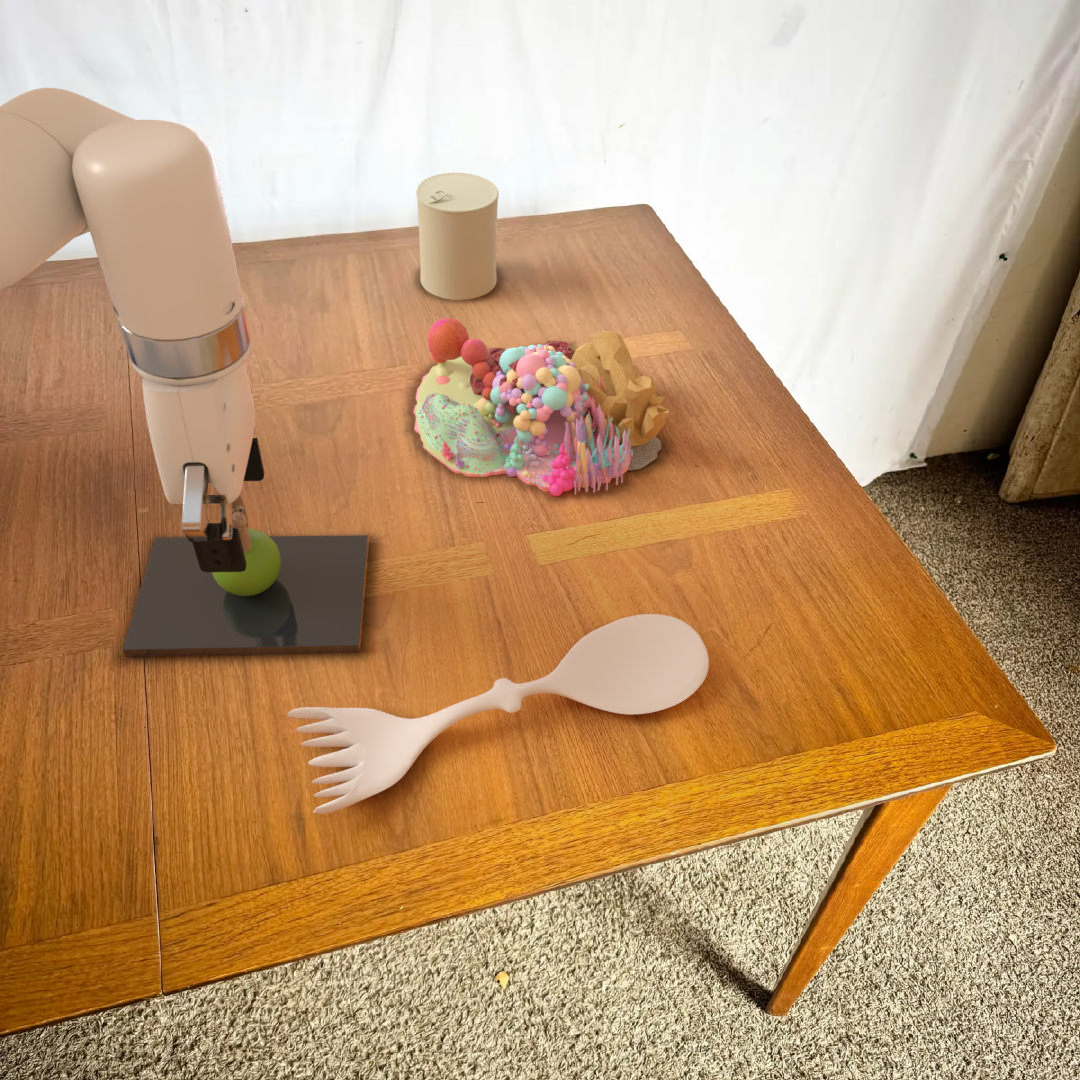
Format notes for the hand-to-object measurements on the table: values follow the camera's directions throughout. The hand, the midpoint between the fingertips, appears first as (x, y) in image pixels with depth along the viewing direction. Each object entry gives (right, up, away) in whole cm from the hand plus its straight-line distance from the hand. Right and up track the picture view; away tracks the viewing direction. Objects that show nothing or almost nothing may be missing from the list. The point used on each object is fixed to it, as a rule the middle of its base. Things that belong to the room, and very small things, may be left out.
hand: (234, 521), depth 73 cm
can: (+13, +29, +42) cm, 53 cm away
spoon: (+21, -15, 0) cm, 26 cm away
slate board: (0, -6, +7) cm, 9 cm away
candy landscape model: (+23, +10, +25) cm, 35 cm away
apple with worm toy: (0, -6, +6) cm, 8 cm away
